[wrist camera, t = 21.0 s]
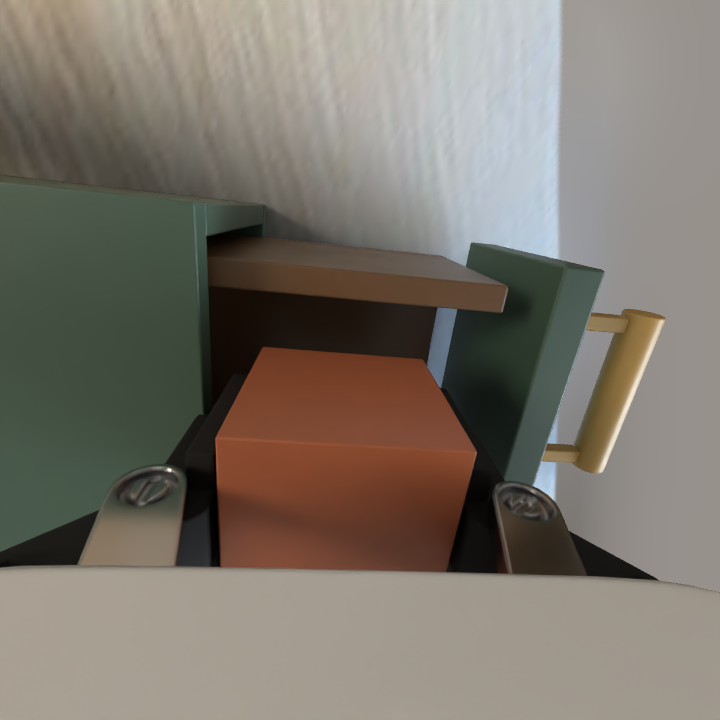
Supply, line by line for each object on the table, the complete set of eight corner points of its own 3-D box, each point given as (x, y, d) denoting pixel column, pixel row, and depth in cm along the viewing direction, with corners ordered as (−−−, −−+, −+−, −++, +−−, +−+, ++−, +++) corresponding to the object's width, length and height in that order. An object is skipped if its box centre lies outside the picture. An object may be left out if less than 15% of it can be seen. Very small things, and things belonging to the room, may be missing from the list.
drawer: (601, 256, 18) (778, 288, 11) (541, 441, 22) (643, 556, 15) (194, 211, 16) (82, 214, 9) (204, 422, 20) (131, 542, 13)
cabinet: (266, 204, 17) (194, 201, 8) (263, 426, 21) (212, 580, 13) (-91, 164, 16) (-634, 109, 7) (-20, 409, 20) (-302, 570, 11)
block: (262, 346, 11) (214, 437, 6) (423, 358, 11) (478, 451, 7) (260, 479, 12) (221, 623, 8) (400, 486, 13) (433, 625, 8)
